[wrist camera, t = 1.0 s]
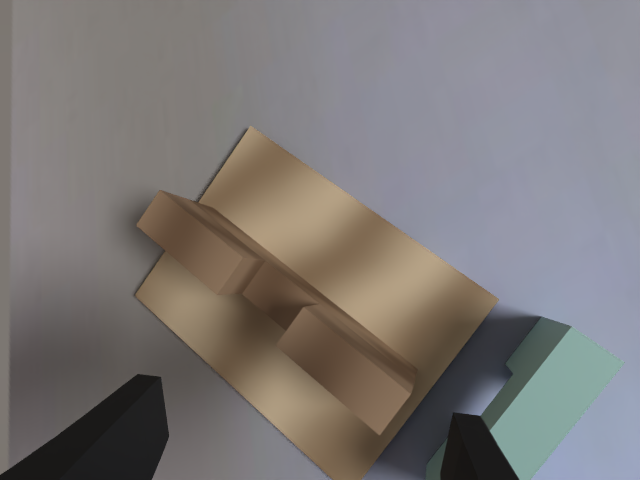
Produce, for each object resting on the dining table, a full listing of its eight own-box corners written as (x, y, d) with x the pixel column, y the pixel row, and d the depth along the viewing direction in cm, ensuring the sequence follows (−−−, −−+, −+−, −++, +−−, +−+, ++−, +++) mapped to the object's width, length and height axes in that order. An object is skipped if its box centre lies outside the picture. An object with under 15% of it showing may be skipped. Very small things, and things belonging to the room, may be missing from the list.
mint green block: (581, 343, 20) (624, 362, 15) (461, 494, 21) (468, 557, 16) (541, 316, 21) (571, 326, 16) (426, 464, 21) (422, 516, 17)
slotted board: (497, 298, 21) (516, 304, 16) (351, 489, 22) (323, 555, 17) (254, 129, 26) (205, 88, 20) (141, 295, 27) (65, 298, 21)
